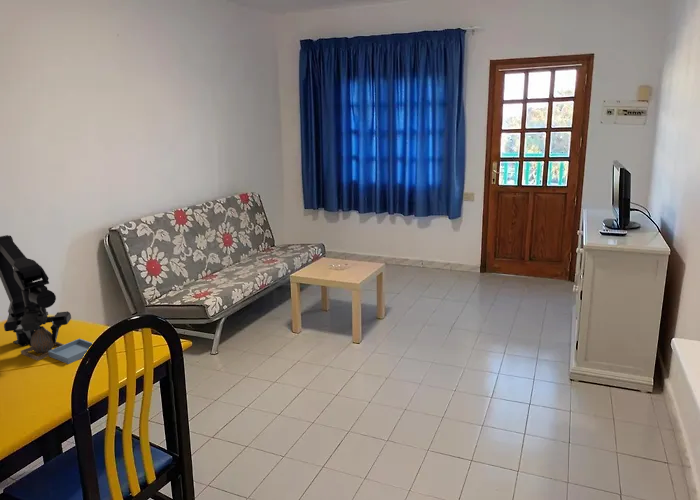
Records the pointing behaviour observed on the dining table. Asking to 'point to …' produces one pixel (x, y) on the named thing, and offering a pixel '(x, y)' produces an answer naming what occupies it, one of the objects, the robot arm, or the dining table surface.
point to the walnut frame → (25, 352)
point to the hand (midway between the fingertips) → (43, 344)
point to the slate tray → (70, 351)
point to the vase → (42, 341)
